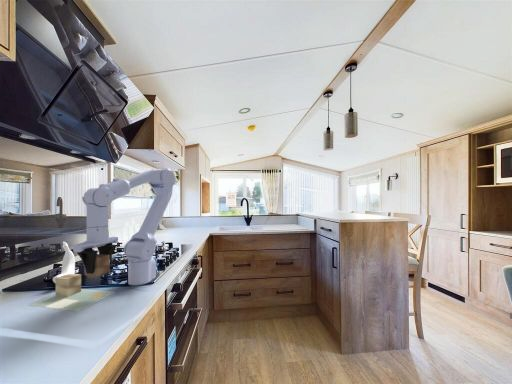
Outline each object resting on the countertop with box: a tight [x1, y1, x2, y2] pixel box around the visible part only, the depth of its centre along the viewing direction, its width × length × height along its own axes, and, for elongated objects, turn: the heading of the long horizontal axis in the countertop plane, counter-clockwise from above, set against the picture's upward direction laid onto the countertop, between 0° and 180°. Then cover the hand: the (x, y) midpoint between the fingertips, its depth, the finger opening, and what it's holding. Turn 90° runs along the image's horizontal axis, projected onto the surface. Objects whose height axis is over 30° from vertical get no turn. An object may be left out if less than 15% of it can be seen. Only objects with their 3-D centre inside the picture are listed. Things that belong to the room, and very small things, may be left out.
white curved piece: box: [52, 241, 76, 285], centre depth 90 cm, size 5×19×15 cm, turn 31°
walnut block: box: [84, 253, 111, 277], centre depth 77 cm, size 5×5×5 cm
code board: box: [27, 288, 116, 312], centre depth 75 cm, size 14×17×1 cm
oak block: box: [55, 273, 82, 297], centre depth 79 cm, size 5×5×5 cm
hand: (97, 270), depth 77 cm, fingers closed on walnut block, 5 cm apart
